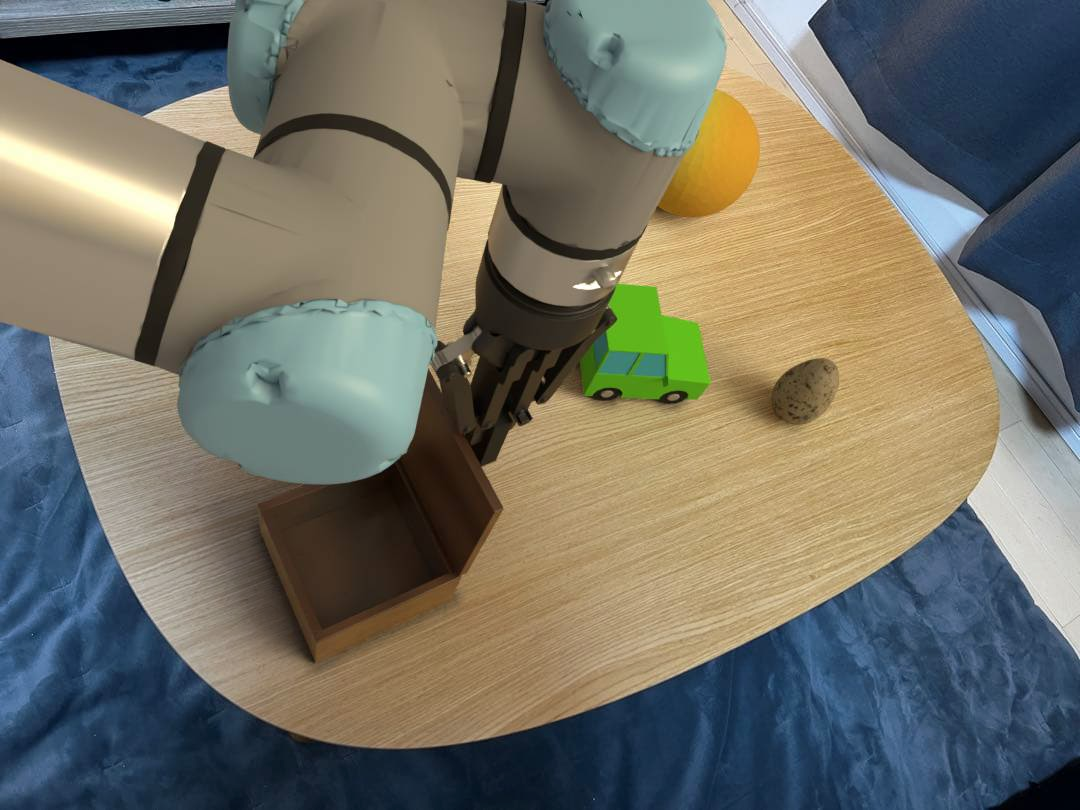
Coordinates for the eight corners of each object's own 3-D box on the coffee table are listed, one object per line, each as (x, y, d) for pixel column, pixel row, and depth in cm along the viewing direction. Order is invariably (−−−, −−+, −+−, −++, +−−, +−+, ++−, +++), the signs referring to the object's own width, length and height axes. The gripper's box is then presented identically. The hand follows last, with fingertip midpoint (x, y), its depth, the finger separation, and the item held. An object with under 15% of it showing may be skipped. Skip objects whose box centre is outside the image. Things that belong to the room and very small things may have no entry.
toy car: (698, 415, 92) (737, 367, 84) (581, 409, 89) (610, 359, 81) (683, 337, 97) (719, 284, 89) (572, 329, 94) (598, 273, 86)
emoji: (632, 132, 113) (673, 35, 100) (740, 182, 113) (794, 92, 100) (594, 208, 104) (633, 113, 91) (710, 263, 104) (766, 176, 91)
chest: (315, 663, 71) (316, 643, 65) (260, 533, 75) (257, 503, 69) (450, 600, 76) (462, 576, 70) (392, 481, 80) (398, 450, 74)
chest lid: (494, 512, 59) (504, 508, 59) (416, 367, 63) (426, 364, 63) (458, 576, 70) (467, 572, 70) (395, 449, 74) (403, 446, 74)
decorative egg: (815, 434, 95) (865, 390, 86) (768, 436, 93) (814, 390, 85) (800, 388, 98) (846, 341, 89) (754, 389, 96) (797, 340, 87)
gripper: (480, 347, 42) (424, 523, 62) (684, 278, 47) (572, 460, 67) (415, 234, 44) (381, 438, 64) (616, 181, 50) (528, 384, 70)
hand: (479, 449), depth 66 cm, fingers closed
